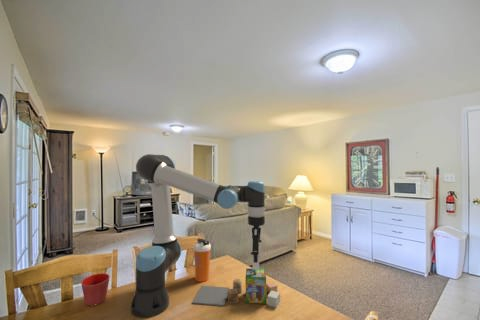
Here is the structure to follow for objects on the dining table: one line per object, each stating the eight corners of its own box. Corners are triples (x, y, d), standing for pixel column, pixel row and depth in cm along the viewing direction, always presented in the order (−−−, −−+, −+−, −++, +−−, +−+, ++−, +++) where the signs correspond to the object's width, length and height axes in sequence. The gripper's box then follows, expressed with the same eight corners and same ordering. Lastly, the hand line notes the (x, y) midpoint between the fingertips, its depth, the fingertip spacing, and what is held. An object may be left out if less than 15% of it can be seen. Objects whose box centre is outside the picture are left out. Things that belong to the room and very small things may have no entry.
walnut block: (228, 303, 103) (229, 294, 103) (228, 298, 107) (228, 289, 107) (238, 302, 103) (238, 293, 103) (236, 297, 107) (236, 288, 107)
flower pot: (75, 309, 98) (75, 286, 98) (88, 295, 108) (88, 273, 108) (103, 307, 99) (103, 284, 99) (113, 293, 110) (113, 272, 110)
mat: (192, 303, 102) (192, 302, 102) (201, 286, 116) (201, 285, 116) (224, 306, 101) (224, 304, 101) (229, 288, 114) (229, 287, 114)
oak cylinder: (232, 293, 110) (232, 282, 110) (233, 289, 114) (233, 278, 114) (240, 294, 110) (241, 283, 110) (241, 289, 114) (242, 279, 114)
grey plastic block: (267, 305, 102) (267, 295, 102) (271, 299, 106) (271, 290, 106) (276, 307, 100) (276, 298, 100) (280, 301, 104) (280, 292, 104)
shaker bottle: (202, 273, 131) (202, 236, 131) (214, 277, 125) (214, 239, 126) (189, 279, 123) (190, 241, 124) (202, 284, 118) (202, 244, 118)
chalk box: (266, 304, 102) (266, 270, 102) (245, 303, 103) (245, 269, 103) (265, 292, 111) (265, 261, 111) (246, 292, 112) (246, 260, 112)
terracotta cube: (269, 296, 108) (269, 287, 108) (265, 291, 112) (265, 283, 112) (277, 294, 110) (277, 285, 110) (272, 290, 114) (272, 281, 114)
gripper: (264, 222, 94) (264, 276, 94) (265, 210, 119) (265, 252, 119) (245, 222, 95) (245, 275, 95) (250, 209, 120) (250, 251, 120)
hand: (256, 262), depth 107 cm, fingers open, 13 cm apart
